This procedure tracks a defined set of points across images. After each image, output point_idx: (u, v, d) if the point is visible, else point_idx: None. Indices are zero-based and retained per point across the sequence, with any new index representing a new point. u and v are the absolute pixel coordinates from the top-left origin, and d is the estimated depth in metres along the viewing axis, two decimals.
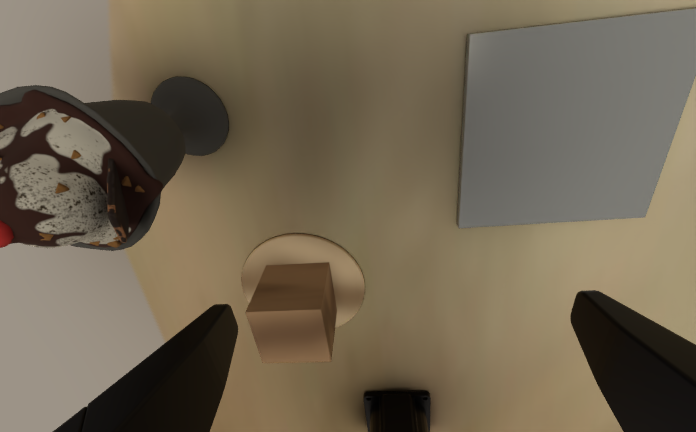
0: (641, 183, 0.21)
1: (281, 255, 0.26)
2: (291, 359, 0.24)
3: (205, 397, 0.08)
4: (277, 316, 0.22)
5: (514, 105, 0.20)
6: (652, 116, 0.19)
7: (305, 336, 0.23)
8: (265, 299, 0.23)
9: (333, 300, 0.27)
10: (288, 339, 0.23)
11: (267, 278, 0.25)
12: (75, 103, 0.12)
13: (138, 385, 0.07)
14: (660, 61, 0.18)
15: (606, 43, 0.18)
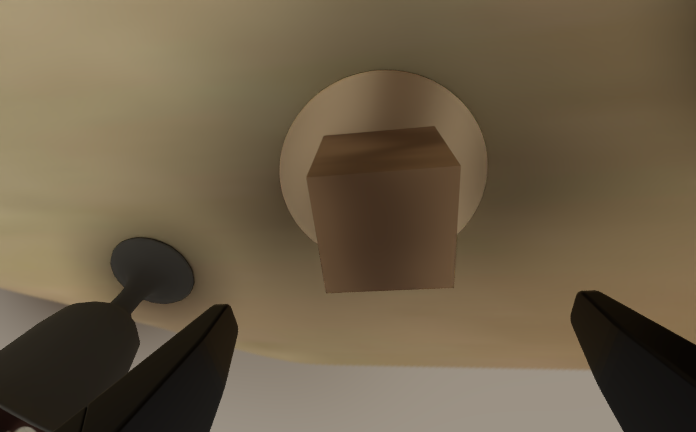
0: None
1: None
2: (447, 240, 0.12)
3: (205, 397, 0.08)
4: (332, 250, 0.13)
5: None
6: None
7: (381, 209, 0.12)
8: None
9: (395, 134, 0.15)
10: (390, 239, 0.12)
11: None
12: None
13: (138, 385, 0.07)
14: None
15: None
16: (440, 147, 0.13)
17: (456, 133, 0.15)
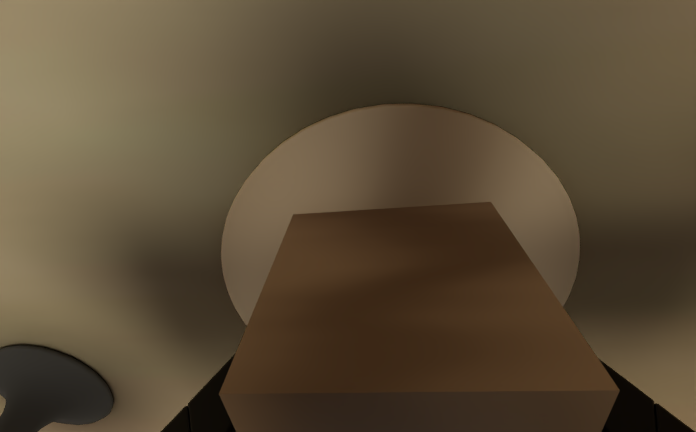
0: None
1: None
2: None
3: None
4: None
5: None
6: None
7: None
8: None
9: (421, 221, 0.08)
10: None
11: None
12: None
13: None
14: None
15: None
16: (528, 283, 0.06)
17: (528, 214, 0.09)
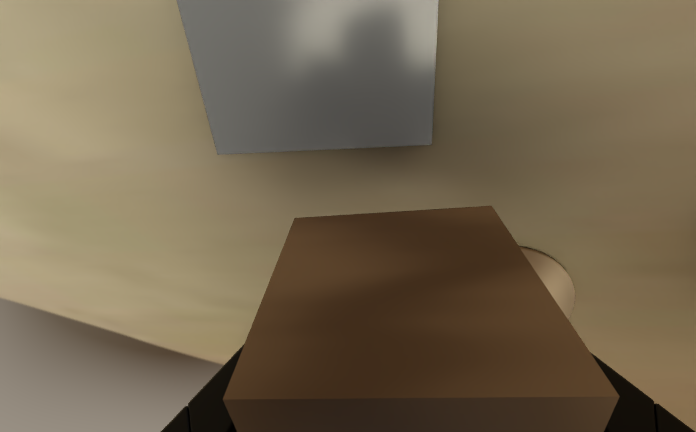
0: None
1: None
2: None
3: None
4: None
5: (276, 101, 0.18)
6: None
7: None
8: None
9: (421, 225, 0.08)
10: None
11: None
12: None
13: None
14: None
15: (203, 9, 0.16)
16: (529, 288, 0.06)
17: (555, 285, 0.22)
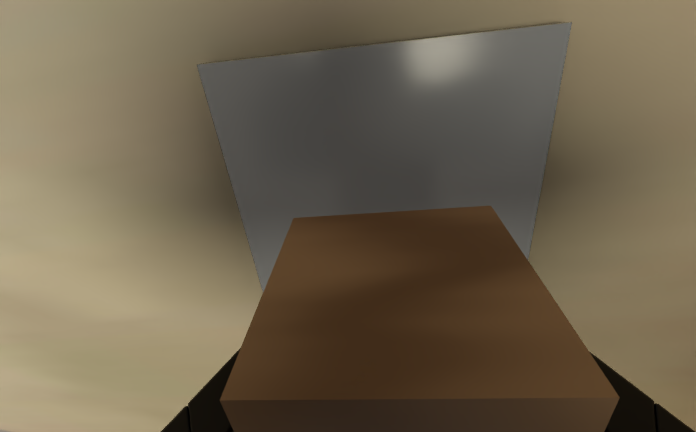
0: (483, 64, 0.11)
1: None
2: None
3: None
4: None
5: None
6: (355, 96, 0.12)
7: None
8: None
9: (421, 225, 0.08)
10: None
11: None
12: None
13: None
14: (276, 118, 0.12)
15: (263, 195, 0.14)
16: (528, 288, 0.06)
17: None
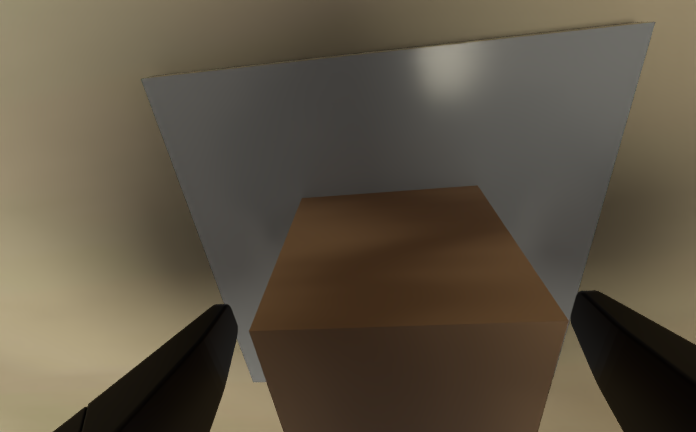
0: (527, 79, 0.08)
1: None
2: (521, 427, 0.07)
3: (205, 397, 0.08)
4: None
5: None
6: (354, 121, 0.09)
7: (398, 382, 0.06)
8: None
9: (415, 202, 0.09)
10: (414, 423, 0.07)
11: None
12: None
13: (138, 385, 0.06)
14: (249, 148, 0.09)
15: (237, 241, 0.11)
16: (504, 248, 0.07)
17: None
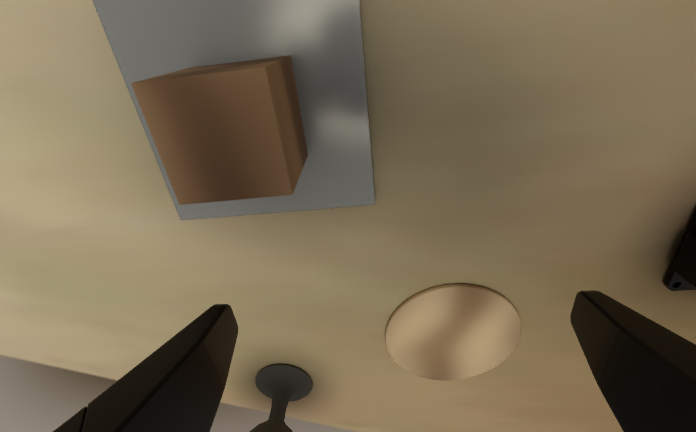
0: None
1: (407, 349, 0.27)
2: (273, 145, 0.13)
3: (205, 397, 0.08)
4: (173, 159, 0.14)
5: None
6: (211, 13, 0.16)
7: (206, 115, 0.13)
8: None
9: (249, 61, 0.16)
10: (223, 146, 0.13)
11: None
12: None
13: (138, 385, 0.07)
14: (154, 33, 0.16)
15: None
16: (270, 62, 0.14)
17: (502, 315, 0.24)
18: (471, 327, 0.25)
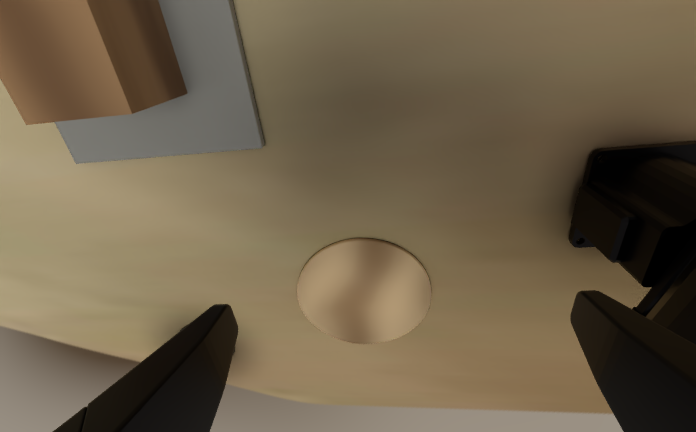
0: None
1: (321, 309, 0.26)
2: (101, 58, 0.13)
3: (205, 397, 0.08)
4: (9, 73, 0.14)
5: None
6: None
7: (30, 24, 0.13)
8: None
9: None
10: (53, 58, 0.14)
11: None
12: None
13: (138, 385, 0.07)
14: None
15: None
16: None
17: (409, 273, 0.24)
18: (380, 285, 0.25)
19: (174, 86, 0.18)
